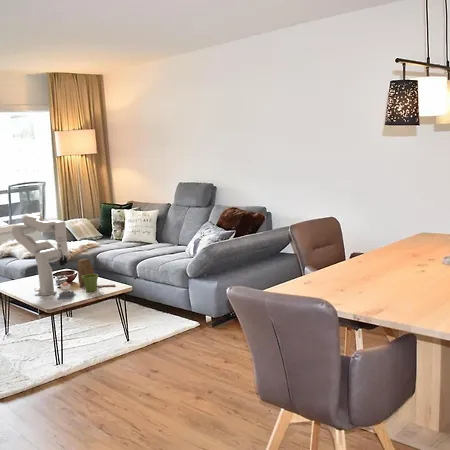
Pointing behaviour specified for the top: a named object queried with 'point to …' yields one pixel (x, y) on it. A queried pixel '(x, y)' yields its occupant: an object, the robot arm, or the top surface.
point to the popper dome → (65, 287)
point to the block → (84, 269)
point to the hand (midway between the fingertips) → (63, 264)
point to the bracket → (105, 285)
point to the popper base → (66, 295)
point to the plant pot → (90, 282)
